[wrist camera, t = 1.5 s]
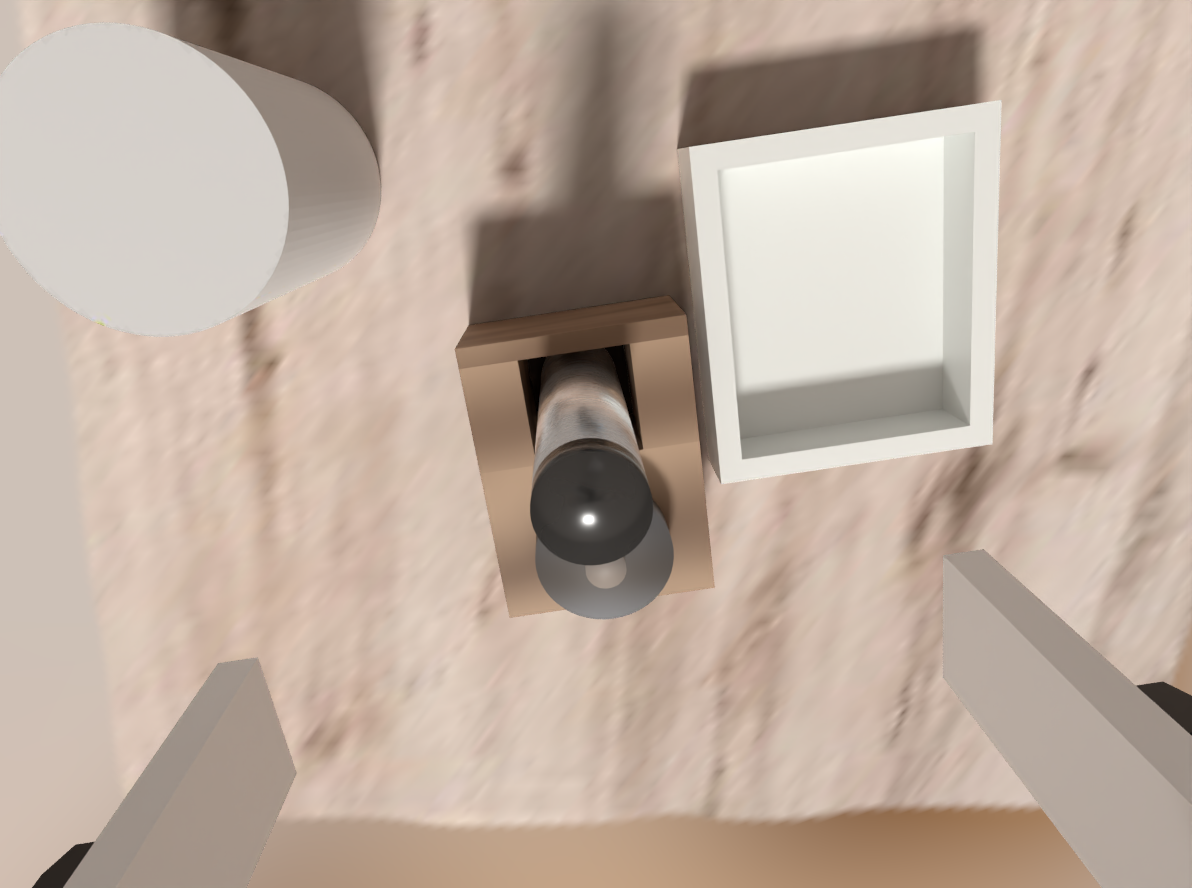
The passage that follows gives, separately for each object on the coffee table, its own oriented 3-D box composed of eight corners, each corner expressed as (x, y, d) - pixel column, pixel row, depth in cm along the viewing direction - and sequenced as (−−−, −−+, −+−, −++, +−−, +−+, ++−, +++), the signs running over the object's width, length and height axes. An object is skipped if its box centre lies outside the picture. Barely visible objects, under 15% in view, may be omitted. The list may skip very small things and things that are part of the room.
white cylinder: (140, 128, 32) (-89, 106, 21) (317, 39, 31) (180, -35, 20) (249, 312, 35) (98, 381, 23) (415, 233, 34) (343, 265, 22)
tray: (677, 149, 33) (689, 146, 30) (961, 106, 33) (1001, 100, 30) (708, 459, 38) (721, 484, 35) (957, 421, 38) (992, 444, 35)
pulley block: (468, 325, 35) (445, 365, 28) (669, 295, 35) (697, 327, 28) (515, 563, 39) (505, 652, 32) (695, 537, 39) (726, 619, 32)
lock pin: (535, 344, 36) (519, 462, 21) (610, 333, 36) (645, 443, 21) (547, 415, 37) (540, 573, 22) (620, 405, 37) (659, 555, 22)
